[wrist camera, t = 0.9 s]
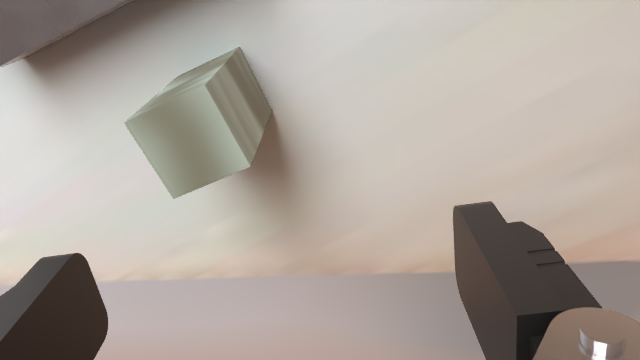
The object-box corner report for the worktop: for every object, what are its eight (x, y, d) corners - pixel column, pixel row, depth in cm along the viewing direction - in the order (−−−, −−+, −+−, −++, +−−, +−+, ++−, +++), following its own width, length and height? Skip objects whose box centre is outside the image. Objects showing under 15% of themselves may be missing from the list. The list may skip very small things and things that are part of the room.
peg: (239, 46, 28) (204, 85, 21) (272, 110, 30) (250, 166, 22) (177, 76, 29) (123, 123, 22) (212, 136, 30) (173, 198, 23)
